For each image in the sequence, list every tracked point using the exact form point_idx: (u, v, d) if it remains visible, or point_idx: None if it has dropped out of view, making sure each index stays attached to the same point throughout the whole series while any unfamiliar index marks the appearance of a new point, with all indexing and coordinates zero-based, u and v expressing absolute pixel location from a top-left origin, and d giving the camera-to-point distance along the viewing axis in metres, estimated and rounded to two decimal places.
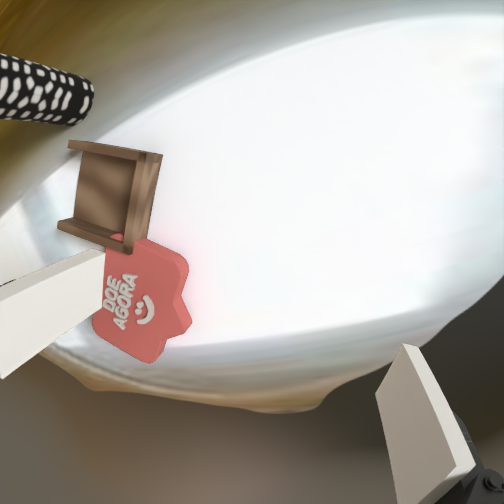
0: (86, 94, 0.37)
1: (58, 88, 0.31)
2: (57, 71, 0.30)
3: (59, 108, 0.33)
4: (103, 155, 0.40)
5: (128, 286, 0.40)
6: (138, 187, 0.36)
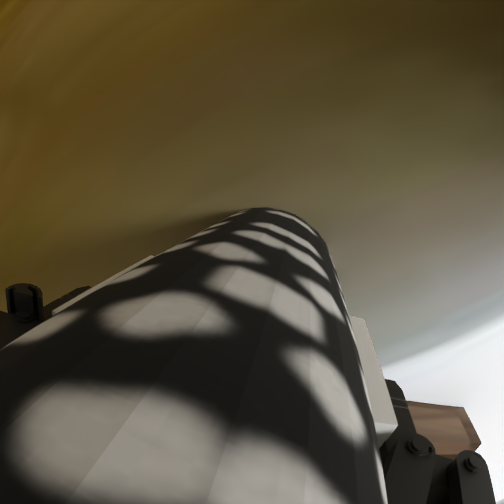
0: None
1: None
2: (330, 282, 0.09)
3: None
4: None
5: None
6: None
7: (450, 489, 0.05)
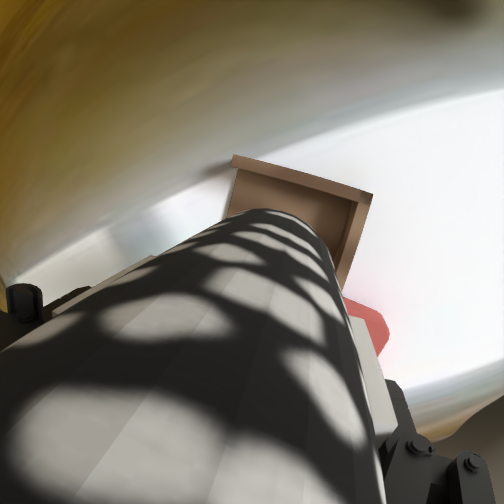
0: None
1: None
2: (330, 283, 0.09)
3: None
4: (276, 181, 0.33)
5: None
6: (358, 237, 0.29)
7: (450, 489, 0.05)
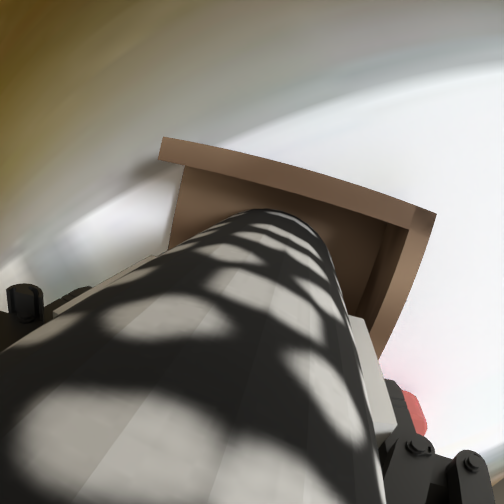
0: None
1: None
2: (330, 283, 0.10)
3: None
4: (250, 185, 0.18)
5: None
6: (403, 296, 0.14)
7: (450, 489, 0.05)
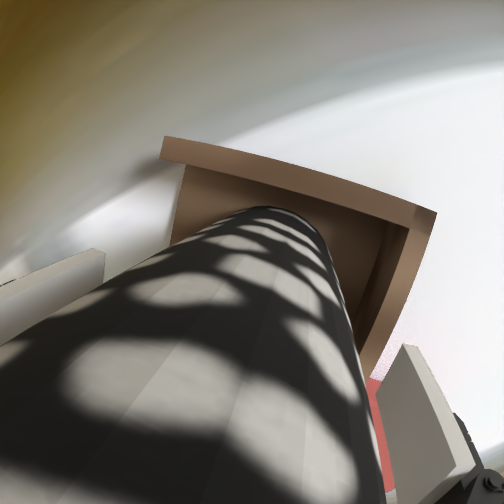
0: None
1: None
2: (327, 273, 0.10)
3: None
4: (251, 184, 0.18)
5: None
6: (404, 294, 0.14)
7: None
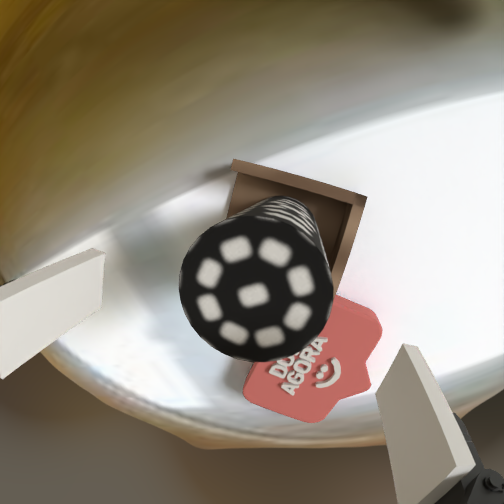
0: None
1: None
2: (311, 218, 0.26)
3: None
4: (273, 184, 0.34)
5: (312, 350, 0.35)
6: (352, 237, 0.30)
7: None
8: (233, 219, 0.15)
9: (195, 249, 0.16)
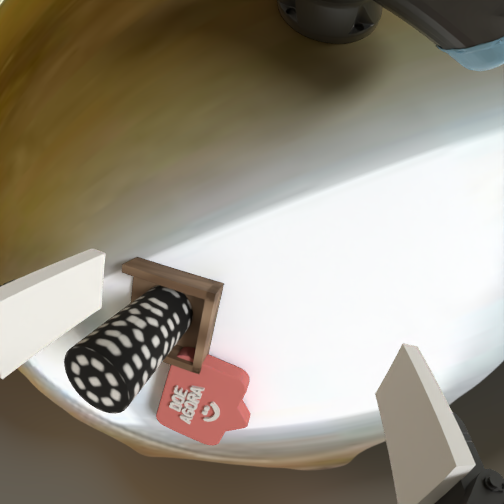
0: (188, 318, 0.43)
1: (171, 340, 0.37)
2: (162, 317, 0.37)
3: (171, 349, 0.39)
4: None
5: (195, 395, 0.45)
6: (207, 323, 0.41)
7: None
8: (78, 346, 0.26)
9: (67, 356, 0.26)
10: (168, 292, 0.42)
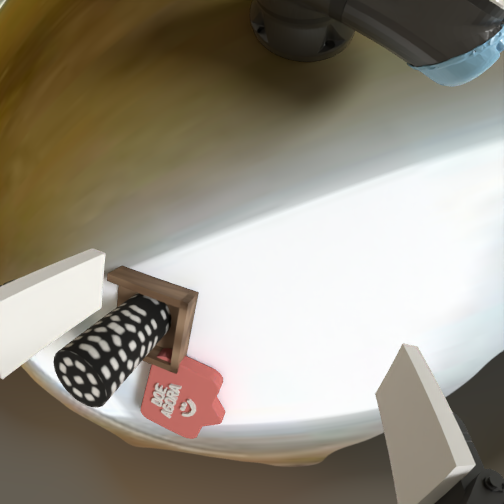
0: (166, 323, 0.47)
1: (148, 344, 0.40)
2: (140, 323, 0.40)
3: None
4: None
5: (174, 392, 0.48)
6: (182, 328, 0.44)
7: None
8: (64, 350, 0.29)
9: (56, 358, 0.30)
10: (148, 299, 0.46)
